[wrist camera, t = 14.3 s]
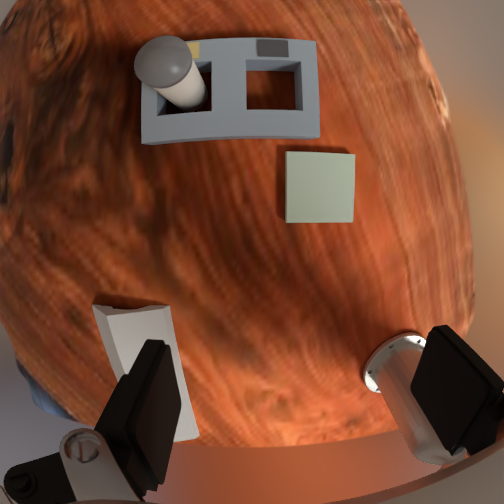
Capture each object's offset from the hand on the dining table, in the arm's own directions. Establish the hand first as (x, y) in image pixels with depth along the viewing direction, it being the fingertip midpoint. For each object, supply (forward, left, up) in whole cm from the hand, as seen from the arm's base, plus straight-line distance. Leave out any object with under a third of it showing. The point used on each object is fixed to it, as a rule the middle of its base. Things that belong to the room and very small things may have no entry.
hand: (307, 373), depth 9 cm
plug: (+8, -15, -26) cm, 30 cm away
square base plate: (-7, -4, -26) cm, 27 cm away
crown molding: (+18, +26, -26) cm, 41 cm away
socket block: (+3, -15, -26) cm, 30 cm away
